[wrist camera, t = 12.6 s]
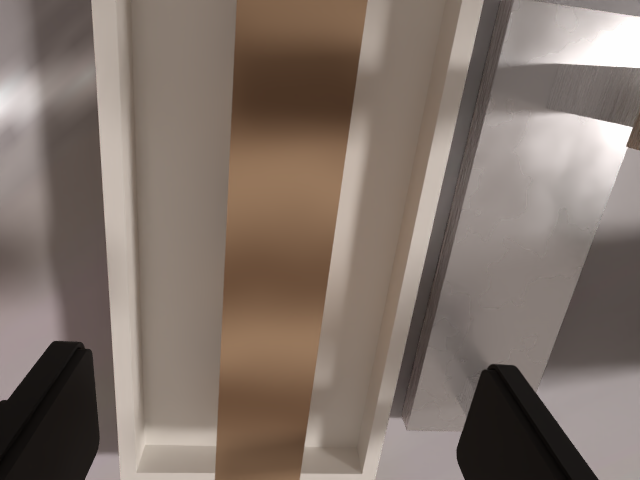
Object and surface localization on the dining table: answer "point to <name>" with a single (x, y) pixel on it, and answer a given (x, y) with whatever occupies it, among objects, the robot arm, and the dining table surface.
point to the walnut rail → (281, 222)
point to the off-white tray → (211, 217)
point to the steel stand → (525, 199)
